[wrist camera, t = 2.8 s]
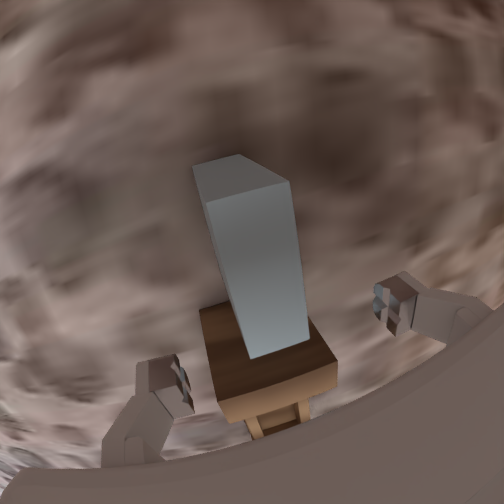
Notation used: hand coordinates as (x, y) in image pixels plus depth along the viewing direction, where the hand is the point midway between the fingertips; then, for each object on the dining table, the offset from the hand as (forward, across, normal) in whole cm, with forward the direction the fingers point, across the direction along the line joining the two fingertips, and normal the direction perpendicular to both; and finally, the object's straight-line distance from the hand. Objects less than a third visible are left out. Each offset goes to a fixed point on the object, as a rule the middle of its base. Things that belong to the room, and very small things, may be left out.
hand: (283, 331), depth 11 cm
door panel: (+13, -1, 0) cm, 13 cm away
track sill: (+13, 0, +19) cm, 23 cm away
